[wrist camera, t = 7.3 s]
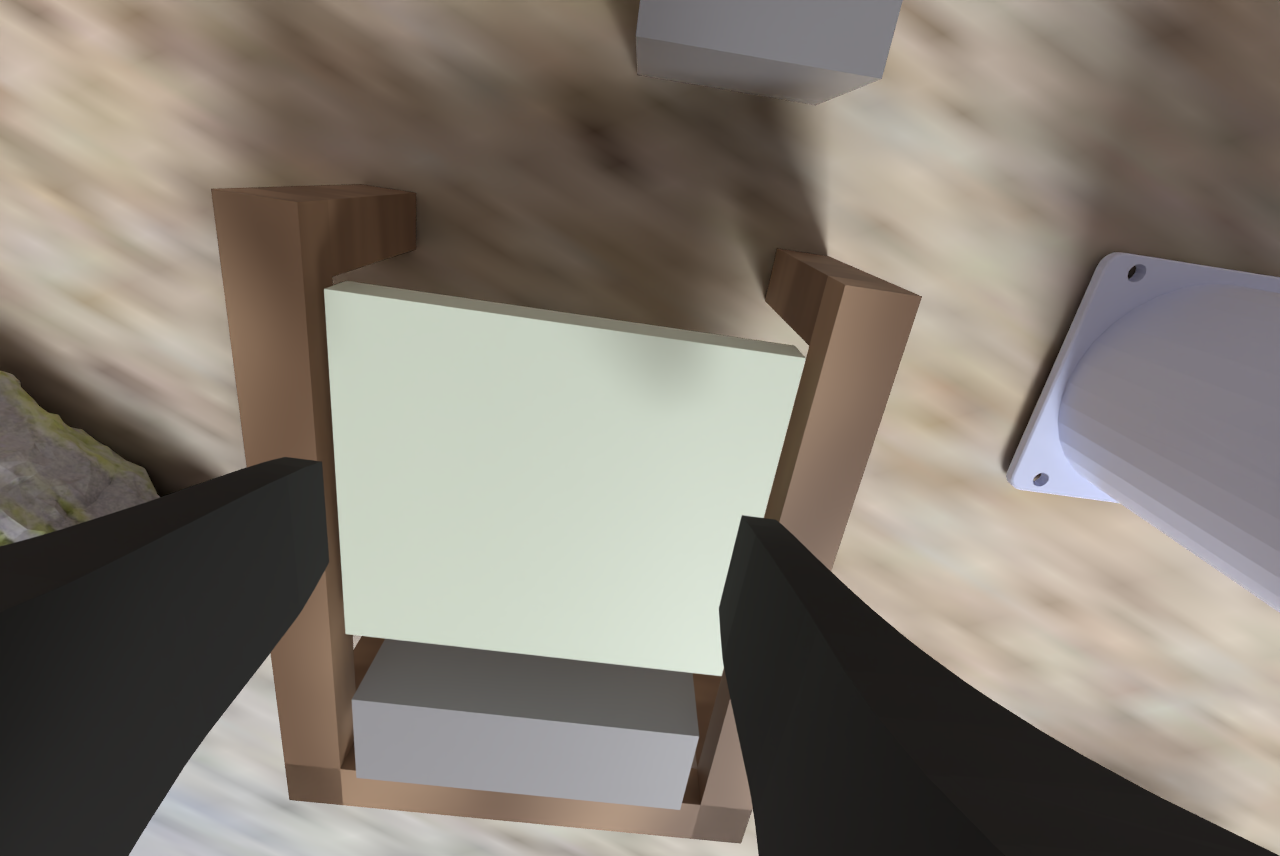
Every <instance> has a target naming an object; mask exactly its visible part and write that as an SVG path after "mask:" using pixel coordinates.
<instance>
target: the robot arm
mask: <svg viewBox="0 0 1280 856" xmlns="http://www.w3.org/2000/svg"><path fill="white" fill-rule="evenodd" d="M1133 266H1136V271H1135V273H1134V275H1133V276H1132V277H1131V278H1129V279H1128V277H1127V276H1128V272H1129V270H1130V269H1131V268H1132V267H1133ZM1039 473H1041V476H1040V477H1039V479H1037V480H1035V481H1033V479H1034V477H1035V476H1036V475H1038V474H1039ZM1006 477H1007V481H1008V482H1009V483H1010V484H1011V485H1012V486H1014V487H1015V488H1017V489H1020V490H1026V491H1033V492H1041V493H1048V494H1055V495H1063V496H1070V497H1078V498H1085V499H1093V500H1100V501H1108V502H1115V503H1120V504H1122V505H1123V506H1125V507H1126V508H1128V509H1129V510H1130V511H1132V512H1133V513H1135V514H1136V515H1138V516H1139V517H1141V518H1142V519H1144V520H1145V521H1147V522H1148V523H1149V524H1151V525H1152V526H1154V527H1155V528H1157V529H1158V530H1160V531H1161V532H1163V533H1164V534H1166V535H1167V536H1168V537H1170V538H1171V539H1173V540H1174V541H1176V542H1177V543H1179V544H1180V545H1182V546H1183V547H1185V548H1186V549H1187V550H1189V551H1190V552H1192V553H1193V554H1195V555H1196V556H1198V557H1199V558H1201V559H1202V560H1204V561H1205V562H1206V563H1208V564H1209V565H1211V566H1212V567H1214V568H1215V569H1217V570H1218V571H1220V572H1221V573H1223V574H1224V575H1225V576H1227V577H1228V578H1230V579H1231V580H1233V581H1234V582H1236V583H1237V584H1239V585H1240V586H1242V587H1243V588H1244V589H1246V590H1247V591H1249V592H1250V593H1252V594H1253V595H1255V596H1256V597H1258V598H1259V599H1261V600H1262V601H1263V602H1265V603H1266V604H1268V605H1269V606H1271V607H1272V608H1274V609H1275V610H1277V611H1278V612H1280V277H1274V276H1268V275H1261V274H1255V273H1249V272H1243V271H1236V270H1230V269H1224V268H1217V267H1211V266H1205V265H1199V264H1192V263H1186V262H1180V261H1173V260H1167V259H1161V258H1154V257H1148V256H1142V255H1136V254H1129V253H1123V252H1113V253H1111V254H1108V255H1106V256H1105V257H1104V258H1103V259H1102V260H1101V261H1100V262H1099V264H1098V265H1097V267H1096V269H1095V272H1094V274H1093V276H1092V279H1091V281H1090V283H1089V285H1088V288H1087V290H1086V292H1085V295H1084V297H1083V299H1082V301H1081V304H1080V306H1079V308H1078V311H1077V313H1076V315H1075V317H1074V320H1073V322H1072V324H1071V327H1070V329H1069V331H1068V333H1067V336H1066V338H1065V340H1064V343H1063V345H1062V347H1061V349H1060V352H1059V354H1058V356H1057V359H1056V361H1055V363H1054V365H1053V368H1052V370H1051V372H1050V375H1049V377H1048V379H1047V381H1046V384H1045V386H1044V388H1043V391H1042V393H1041V395H1040V397H1039V400H1038V402H1037V404H1036V407H1035V409H1034V411H1033V413H1032V416H1031V418H1030V420H1029V423H1028V425H1027V427H1026V429H1025V432H1024V434H1023V436H1022V439H1021V441H1020V443H1019V445H1018V448H1017V450H1016V452H1015V455H1014V457H1013V459H1012V461H1011V464H1010V466H1009V468H1008V471H1007V475H1006ZM328 564H329V550H328V536H327V523H326V509H325V495H324V481H323V467H322V461H314V460H306V459H298V458H290V457H282V458H278V459H274V460H270V461H266V462H263V463H260V464H256V465H253V466H250V467H247V468H244V469H241V470H238V471H235V472H232V473H229V474H226V475H223V476H220V477H217V478H215V479H212V480H209V481H206V482H203V483H200V484H197V485H194V486H192V487H189V488H186V489H183V490H180V491H177V492H174V493H172V494H169V495H166V496H163V497H160V498H157V499H154V500H151V501H148V502H146V503H142V504H139V505H136V506H133V507H130V508H127V509H124V510H121V511H117V512H114V513H111V514H108V515H105V516H102V517H99V518H95V519H92V520H89V521H86V522H83V523H80V524H77V525H74V526H70V527H67V528H64V529H61V530H57V531H54V532H51V533H47V534H44V535H40V536H37V537H33V538H30V539H26V540H22V541H19V542H15V543H12V544H8V545H4V546H0V856H129V854H130V852H131V851H132V849H133V847H134V846H135V844H136V842H137V841H138V839H139V837H140V836H141V834H142V832H143V831H144V829H145V828H146V826H147V824H148V823H149V821H150V820H151V818H152V817H153V815H154V813H155V812H156V810H157V809H158V807H159V806H160V804H161V802H162V801H163V799H164V798H165V796H166V795H167V793H168V791H169V790H170V788H171V787H172V785H173V784H174V782H175V780H176V779H177V777H178V776H179V774H180V773H181V771H182V769H183V768H184V766H185V765H186V763H187V762H188V760H189V759H190V758H191V756H192V755H193V753H194V752H195V751H196V749H197V748H198V746H199V745H200V744H201V742H202V741H203V739H204V738H205V737H206V735H207V734H208V733H209V731H210V730H211V729H212V727H213V726H214V725H215V724H216V722H217V721H218V720H219V718H220V717H221V716H222V715H223V713H224V712H225V711H226V709H227V708H228V707H229V706H230V704H231V703H232V702H233V700H234V699H235V698H236V696H237V695H238V694H239V693H240V691H241V690H242V689H243V687H244V686H245V685H246V684H247V682H248V681H249V680H250V678H251V677H252V676H253V675H254V673H255V672H256V671H257V669H258V668H259V667H260V666H261V664H262V663H263V662H264V660H265V659H266V658H267V657H268V655H269V654H270V653H271V651H272V650H273V649H274V647H275V646H276V645H277V644H278V642H279V641H280V640H281V638H282V637H283V636H284V634H285V633H286V632H287V630H288V629H289V628H290V626H291V625H292V624H293V622H294V621H295V620H296V618H297V617H298V616H299V614H300V613H301V611H302V610H303V608H304V606H305V605H306V603H307V601H308V599H309V598H310V596H311V594H312V593H313V591H314V589H315V587H316V586H317V584H318V582H319V580H320V578H321V577H322V575H323V573H324V571H325V569H326V567H327V566H328ZM719 620H720V635H721V647H722V658H723V665H724V670H725V675H726V680H727V685H728V690H729V695H730V699H731V704H732V709H733V714H734V718H735V723H736V728H737V733H738V737H739V742H740V747H741V751H742V756H743V761H744V765H745V770H746V775H747V780H748V784H749V789H750V795H751V801H752V807H753V813H754V819H755V826H756V835H757V844H758V853H759V856H1279V855H1277V854H1275V853H1273V852H1271V851H1269V850H1267V849H1265V848H1263V847H1261V846H1258V845H1256V844H1254V843H1252V842H1250V841H1248V840H1246V839H1244V838H1242V837H1240V836H1238V835H1236V834H1234V833H1232V832H1230V831H1228V830H1226V829H1224V828H1222V827H1220V826H1218V825H1216V824H1213V823H1211V822H1209V821H1207V820H1205V819H1203V818H1201V817H1199V816H1197V815H1195V814H1193V813H1191V812H1189V811H1187V810H1185V809H1183V808H1181V807H1179V806H1177V805H1175V804H1173V803H1171V802H1168V801H1166V800H1164V799H1162V798H1160V797H1158V796H1156V795H1155V794H1153V793H1151V792H1149V791H1147V790H1145V789H1143V788H1141V787H1139V786H1138V785H1136V784H1134V783H1132V782H1130V781H1128V780H1127V779H1125V778H1123V777H1121V776H1119V775H1118V774H1116V773H1114V772H1112V771H1110V770H1108V769H1107V768H1105V767H1103V766H1101V765H1099V764H1098V763H1096V762H1094V761H1092V760H1090V759H1088V758H1087V757H1085V756H1083V755H1081V754H1079V753H1078V752H1076V751H1074V750H1073V749H1071V748H1069V747H1067V746H1066V745H1064V744H1062V743H1061V742H1059V741H1057V740H1056V739H1054V738H1052V737H1050V736H1049V735H1047V734H1045V733H1044V732H1042V731H1040V730H1039V729H1037V728H1035V727H1034V726H1032V725H1031V724H1029V723H1028V722H1026V721H1024V720H1023V719H1021V718H1020V717H1018V716H1017V715H1015V714H1013V713H1012V712H1010V711H1009V710H1007V709H1006V708H1004V707H1002V706H1001V705H999V704H998V703H996V702H994V701H993V700H991V699H990V698H988V697H987V696H985V695H984V694H982V693H981V692H979V691H978V690H976V689H975V688H973V687H972V686H970V685H969V684H968V683H966V682H965V681H963V680H962V679H960V678H959V677H958V676H956V675H955V674H954V673H952V672H951V671H949V670H948V669H947V668H945V667H944V666H943V665H941V664H940V663H939V662H937V661H936V660H934V659H933V658H932V657H930V656H929V655H928V654H926V653H925V652H924V651H922V650H921V649H920V648H918V647H917V646H916V645H914V644H913V643H912V642H911V641H909V640H908V639H907V638H906V637H904V636H903V635H902V634H901V633H899V632H898V631H897V630H896V629H895V628H894V627H892V626H891V625H890V624H889V623H888V622H886V621H885V620H884V619H883V618H882V617H881V616H879V615H878V614H877V613H876V612H875V611H873V610H872V609H871V608H870V607H869V606H868V605H867V604H865V603H864V602H863V601H862V600H861V599H860V598H859V597H858V596H857V595H855V594H854V593H853V592H852V591H851V590H850V589H849V588H848V587H847V586H846V585H845V584H844V583H842V582H841V581H840V580H839V579H838V578H837V577H836V576H835V575H834V574H833V573H832V572H831V571H830V570H829V569H828V568H827V567H826V566H825V565H824V564H823V563H822V562H820V561H819V560H818V559H817V558H816V557H815V556H814V555H813V554H812V553H811V552H810V551H809V550H808V549H807V548H806V547H805V546H804V545H803V544H802V543H801V542H800V541H799V540H798V539H797V538H796V537H795V536H794V535H793V534H792V533H791V532H790V531H789V530H787V529H786V528H785V527H784V526H783V525H782V524H781V523H780V522H778V521H777V520H775V519H767V518H760V517H752V516H744V515H742V516H741V520H740V524H739V528H738V533H737V537H736V541H735V545H734V549H733V553H732V557H731V561H730V565H729V569H728V573H727V577H726V581H725V585H724V589H723V593H722V597H721V601H720V605H719Z"/></svg>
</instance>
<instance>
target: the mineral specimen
mask: <svg viewBox="0 0 1280 856" xmlns="http://www.w3.org/2000/svg"><path fill="white" fill-rule="evenodd" d="M157 498H160V496H158V495H157V492H156V490H155V488H154V486H153V484H152V482H151V480H150V478H149V476H148V474H147V472H146V470H145V468H143V467H141V466H138V465H136V464H134V463H131V462H129V461H126V460H125V459H123V458H122V457H121V456H119V455H118V454H117V453H115V452H114V451H113V450H111V449H110V448H109V447H108V446H105V445H103V444H102V443H100V442H98V441H97V440H95V439H94V438H93V437H91V436H90V435H88V434H87V433H86V432H85V431H83V430H82V429H77V428H72V427H69V426H67V425H66V424H64V422H63V421H62V419H61V418H60V416H59V415H57V414H52V413H48V412H46V411H45V410H44V409H42V408H41V407H40V406H39V405H38V404H37V403H36V402H35V400H34V399H33V398H32V397H31V396H30V395H28V394H27V393H26V392H25V391H24V390H23V389H22V388H21V382H20V381H19V380H18V379H17V378H16V377H15V376H14V375H13V374H10V373H7V372H4V371H1V370H0V546H4V545H8V544H12V543H15V542H19V541H22V540H26V539H30V538H33V537H37V536H40V535H44V534H47V533H51V532H54V531H57V530H61V529H64V528H67V527H70V526H74V525H77V524H80V523H83V522H86V521H89V520H92V519H95V518H99V517H102V516H105V515H108V514H111V513H114V512H117V511H121V510H124V509H127V508H130V507H133V506H136V505H139V504H142V503H146V502H148V501H151V500H154V499H157Z"/></svg>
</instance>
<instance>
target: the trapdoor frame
mask: <svg viewBox="0 0 1280 856" xmlns="http://www.w3.org/2000/svg"><path fill="white" fill-rule="evenodd" d="M211 192H212V199H213V207H214V215H215V223H216V231H217V238H218V246H219V254H220V262H221V270H222V277H223V285H224V293H225V301H226V309H227V316H228V324H229V332H230V340H231V348H232V356H233V363H234V371H235V379H236V387H237V395H238V402H239V410H240V418H241V426H242V434H243V441H244V449H245V457H246V465H247V467H250V466H253V465H256V464H260V463H263V462H266V461H270V460H274V459H278V458H282V457H290V458H298V459H306V460H314V461H322V467H323V481H324V495H325V509H326V523H327V536H328V550H329V564H328V566H327V567H326V569H325V571H324V573H323V575H322V577H321V578H320V580H319V582H318V584H317V586H316V587H315V589H314V591H313V593H312V594H311V596H310V598H309V599H308V601H307V603H306V605H305V606H304V608H303V610H302V611H301V613H300V614H299V616H298V617H297V618H296V620H295V621H294V622H293V624H292V625H291V626H290V628H289V629H288V630H287V632H286V633H285V634H284V636H283V637H282V638H281V640H280V641H279V642H278V644H277V645H276V646H275V647H274V649H273V650H272V651H271V660H272V668H273V675H274V683H275V691H276V699H277V707H278V714H279V722H280V730H281V738H282V746H283V753H284V761H285V769H286V777H287V785H288V793H289V800H296V801H306V802H316V803H327V804H337V805H347V806H358V807H368V808H378V809H389V810H399V811H410V812H420V813H430V814H441V815H451V816H461V817H472V818H482V819H493V820H503V821H513V822H524V823H534V824H544V825H555V826H565V827H575V828H586V829H596V830H607V831H617V832H627V833H638V834H648V835H658V836H669V837H679V838H689V839H700V840H710V841H721V842H731V843H741V842H742V839H743V836H744V833H745V830H746V827H747V824H748V821H749V818H750V815H751V812H752V809H753V807H752V801H751V795H750V789H749V784H748V780H747V775H746V770H745V765H744V761H743V756H742V751H741V747H740V742H739V737H738V733H737V728H736V723H735V718H734V714H733V709H732V704H731V699H730V695H729V690H728V685H727V680H726V675H725V670H724V669H723V673H722V676H715V675H706V674H697V673H693V682H694V692H695V701H696V711H697V720H698V730H699V739H698V743H697V747H696V751H695V755H694V758H693V762H692V766H691V770H690V774H689V778H688V782H687V785H686V789H685V793H684V797H683V801H682V805H681V809H680V810H675V809H665V808H655V807H645V806H635V805H625V804H615V803H604V802H594V801H584V800H574V799H564V798H554V797H544V796H534V795H524V794H514V793H504V792H493V791H483V790H473V789H463V788H453V787H443V786H433V785H423V784H413V783H403V782H393V781H382V780H372V779H362V778H356V763H355V747H354V730H353V714H352V698H353V696H354V694H355V693H356V691H357V689H358V687H359V685H360V683H361V682H362V680H363V678H364V676H365V674H366V673H367V671H368V669H369V667H370V665H371V664H372V662H373V660H374V658H375V656H376V654H377V653H378V651H379V649H380V647H381V645H382V644H383V642H384V640H385V638H377V637H368V636H362V637H361V639H360V640H359V642H358V643H357V645H356V647H355V648H354V650H353V635H350V634H346V633H345V618H344V602H343V586H342V570H341V554H340V538H339V522H338V506H337V490H336V474H335V458H334V442H333V426H332V410H331V394H330V378H329V362H328V346H327V330H326V314H325V298H324V289H325V288H328V287H331V286H333V282H332V277H333V276H336V275H339V274H342V273H345V272H348V271H351V270H354V269H357V268H360V267H363V266H366V265H369V264H372V263H375V262H378V261H381V260H384V259H387V258H390V257H394V256H397V255H400V254H403V253H406V252H409V251H412V250H415V249H416V193H414V192H408V191H401V190H395V189H388V188H382V187H375V186H369V185H362V184H352V185H321V186H289V187H258V188H226V189H211ZM921 298H922V296H919V295H917V294H915V293H912V292H910V291H908V290H905V289H903V288H901V287H898V286H896V285H894V284H891V283H889V282H887V281H885V280H882V279H880V278H878V277H875V276H873V275H871V274H868V273H866V272H864V271H861V270H859V269H857V268H854V267H852V266H850V265H847V264H845V263H843V262H840V261H838V260H836V259H834V258H831V257H829V256H823V255H817V254H810V253H804V252H797V251H791V250H784V249H778V248H777V251H776V255H775V260H774V264H773V268H772V273H771V277H770V282H769V286H768V290H767V295H766V299H765V301H766V302H767V303H768V304H769V305H770V306H771V307H772V309H773V310H774V311H775V312H776V313H777V314H778V315H779V316H780V317H781V318H782V319H783V320H784V321H785V322H786V323H787V324H788V325H789V326H790V327H791V328H792V329H793V330H794V331H795V332H796V333H797V334H798V335H799V336H800V337H801V338H802V339H803V340H804V341H805V342H806V343H807V344H808V345H809V349H808V353H807V357H806V361H805V364H804V368H803V372H802V376H801V380H800V383H799V387H798V391H797V395H796V398H795V402H794V406H793V410H792V413H791V417H790V421H789V425H788V429H787V432H786V436H785V440H784V444H783V447H782V451H781V455H780V459H779V462H778V466H777V470H776V474H775V478H774V481H773V485H772V489H771V493H770V496H769V500H768V504H767V508H766V511H765V515H764V518H767V519H775V520H777V521H778V522H780V523H781V524H782V525H783V526H784V527H785V528H786V529H787V530H789V531H790V532H791V533H792V534H793V535H794V536H795V537H796V538H797V539H798V540H799V541H800V542H801V543H802V544H803V545H804V546H805V547H806V548H807V549H808V550H809V551H810V552H811V553H812V554H813V555H814V556H815V557H816V558H817V559H818V560H819V561H820V562H822V563H823V564H824V565H825V566H826V567H827V568H828V569H829V570H830V571H831V570H832V567H833V564H834V561H835V558H836V555H837V552H838V549H839V546H840V543H841V540H842V537H843V534H844V531H845V528H846V525H847V522H848V519H849V516H850V512H851V509H852V506H853V503H854V500H855V497H856V494H857V491H858V488H859V485H860V482H861V479H862V476H863V473H864V470H865V467H866V464H867V461H868V458H869V455H870V452H871V449H872V446H873V443H874V440H875V437H876V434H877V431H878V428H879V425H880V422H881V419H882V416H883V413H884V410H885V407H886V404H887V401H888V398H889V395H890V392H891V389H892V386H893V383H894V379H895V376H896V373H897V370H898V367H899V364H900V361H901V358H902V355H903V352H904V349H905V346H906V343H907V340H908V337H909V334H910V331H911V328H912V325H913V322H914V319H915V316H916V313H917V310H918V307H919V304H920V301H921Z"/></svg>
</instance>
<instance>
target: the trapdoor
mask: <svg viewBox="0 0 1280 856" xmlns="http://www.w3.org/2000/svg"><path fill="white" fill-rule="evenodd" d="M324 298H325V314H326V330H327V346H328V362H329V378H330V394H331V410H332V426H333V442H334V458H335V474H336V490H337V506H338V522H339V538H340V554H341V570H342V586H343V602H344V618H345V633H346V634H350V635H359V636H368V637H377V638H385V640H384V642H383V644H382V645H381V647H380V649H379V651H378V653H377V654H376V656H375V658H374V660H373V662H372V664H371V665H370V667H369V669H368V671H367V673H366V674H365V676H364V678H363V680H362V682H361V683H360V685H359V687H358V689H357V691H356V693H355V694H354V696H353V698H352V714H353V730H354V747H355V763H356V778H362V779H372V780H382V781H393V782H403V783H413V784H423V785H433V786H443V787H453V788H463V789H473V790H483V791H493V792H504V793H514V794H524V795H534V796H544V797H554V798H564V799H574V800H584V801H594V802H604V803H615V804H625V805H635V806H645V807H655V808H665V809H675V810H680V809H681V805H682V801H683V797H684V793H685V789H686V785H687V782H688V778H689V774H690V770H691V766H692V762H693V758H694V755H695V751H696V747H697V743H698V739H699V730H698V720H697V711H696V701H695V692H694V682H693V673H697V674H706V675H715V676H722V673H723V669H724V665H723V658H722V647H721V635H720V620H719V605H720V601H721V597H722V593H723V589H724V585H725V581H726V577H727V573H728V569H729V565H730V561H731V557H732V553H733V549H734V545H735V541H736V537H737V533H738V528H739V524H740V520H741V516H742V515H744V516H752V517H760V518H764V514H765V511H766V507H767V503H768V499H769V495H770V492H771V488H772V484H773V480H774V477H775V473H776V469H777V465H778V461H779V458H780V454H781V450H782V446H783V443H784V439H785V435H786V431H787V428H788V424H789V420H790V416H791V412H792V409H793V405H794V401H795V397H796V394H797V390H798V386H799V382H800V379H801V375H802V371H803V367H804V363H805V360H806V358H805V357H804V356H803V354H802V353H801V352H800V351H799V350H798V349H797V348H796V347H795V346H793V345H786V344H779V343H773V342H766V341H759V340H752V339H745V338H738V337H731V336H724V335H717V334H710V333H703V332H697V331H690V330H683V329H676V328H669V327H662V326H655V325H648V324H641V323H634V322H628V321H621V320H614V319H607V318H600V317H593V316H586V315H579V314H572V313H565V312H559V311H552V310H545V309H538V308H531V307H524V306H517V305H510V304H503V303H496V302H490V301H483V300H476V299H469V298H462V297H455V296H448V295H441V294H434V293H427V292H421V291H414V290H407V289H400V288H393V287H386V286H379V285H372V284H365V283H358V282H352V281H345V282H342V283H339V284H336V285H333V286H331V287H328V288H325V289H324Z"/></svg>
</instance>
